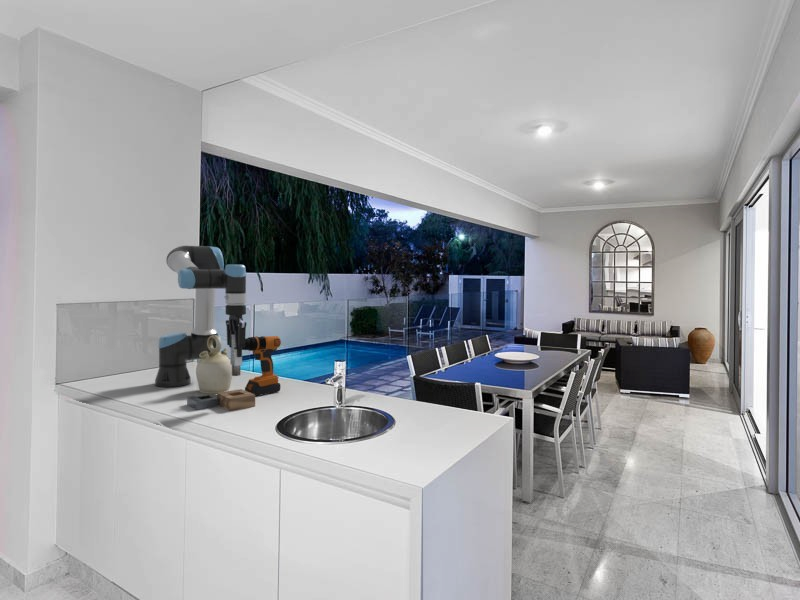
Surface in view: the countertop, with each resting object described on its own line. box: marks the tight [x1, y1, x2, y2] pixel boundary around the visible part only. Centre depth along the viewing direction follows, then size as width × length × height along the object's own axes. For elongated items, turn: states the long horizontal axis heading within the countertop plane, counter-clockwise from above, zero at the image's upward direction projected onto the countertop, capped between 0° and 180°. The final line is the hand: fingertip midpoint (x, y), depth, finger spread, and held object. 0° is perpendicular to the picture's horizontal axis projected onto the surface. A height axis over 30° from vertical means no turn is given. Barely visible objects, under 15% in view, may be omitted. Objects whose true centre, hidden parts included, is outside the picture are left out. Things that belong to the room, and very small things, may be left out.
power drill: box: [242, 335, 282, 397], centre depth 210 cm, size 22×7×25 cm, turn 138°
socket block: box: [186, 393, 221, 411], centre depth 190 cm, size 10×10×4 cm
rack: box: [216, 388, 256, 412], centre depth 190 cm, size 12×10×5 cm
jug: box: [195, 335, 233, 394], centre depth 214 cm, size 15×16×25 cm
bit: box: [232, 334, 241, 377], centre depth 189 cm, size 3×3×16 cm
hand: (236, 364), depth 189 cm, fingers closed on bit, 3 cm apart
